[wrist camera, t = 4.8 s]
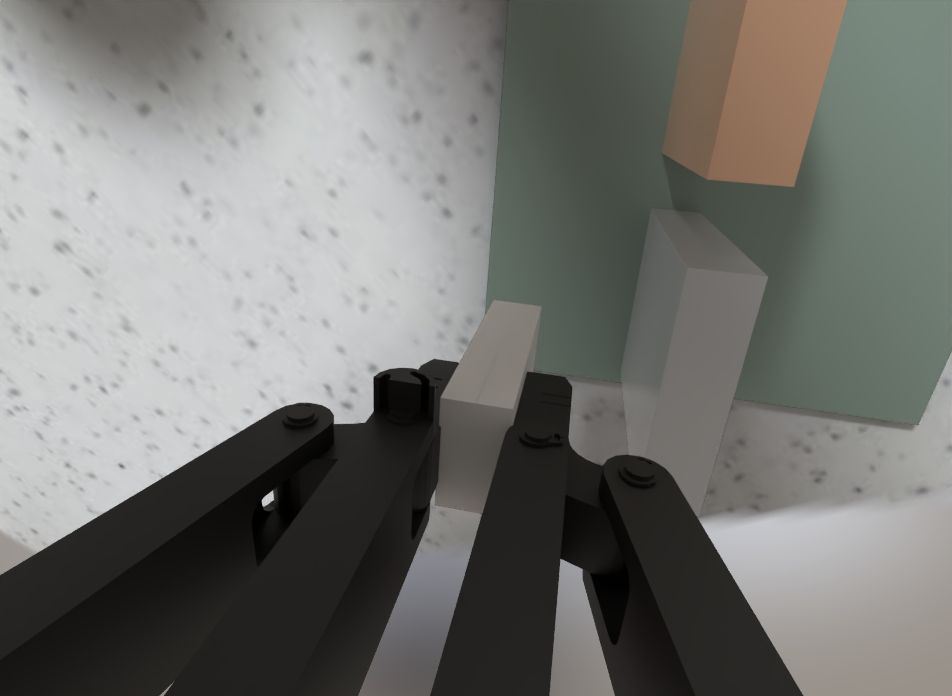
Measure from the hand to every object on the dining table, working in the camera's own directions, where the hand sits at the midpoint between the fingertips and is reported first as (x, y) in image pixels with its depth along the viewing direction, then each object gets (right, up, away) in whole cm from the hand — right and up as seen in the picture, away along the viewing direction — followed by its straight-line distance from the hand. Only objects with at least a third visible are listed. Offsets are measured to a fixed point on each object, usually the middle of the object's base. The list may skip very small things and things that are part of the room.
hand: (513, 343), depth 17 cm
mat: (+9, +6, +3) cm, 11 cm away
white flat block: (+6, +2, +5) cm, 8 cm away
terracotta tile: (+7, +10, +1) cm, 12 cm away
